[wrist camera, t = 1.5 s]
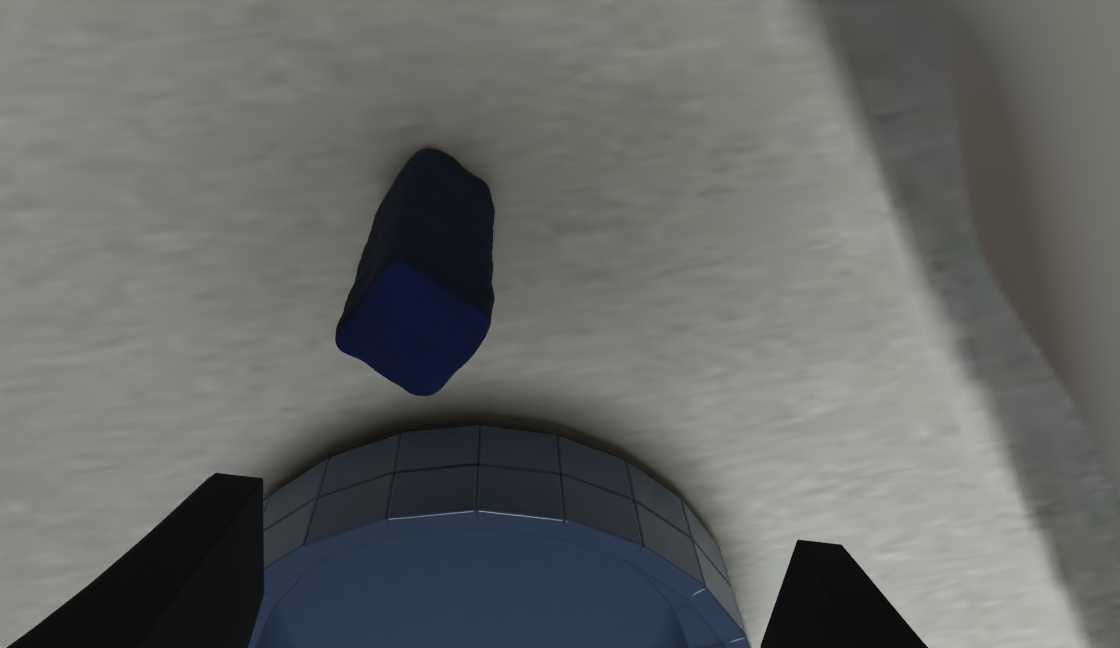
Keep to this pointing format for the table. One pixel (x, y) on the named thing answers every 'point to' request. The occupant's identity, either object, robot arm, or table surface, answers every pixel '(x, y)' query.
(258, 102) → the table surface
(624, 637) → the bowl
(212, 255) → the table surface
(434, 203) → the eraser
